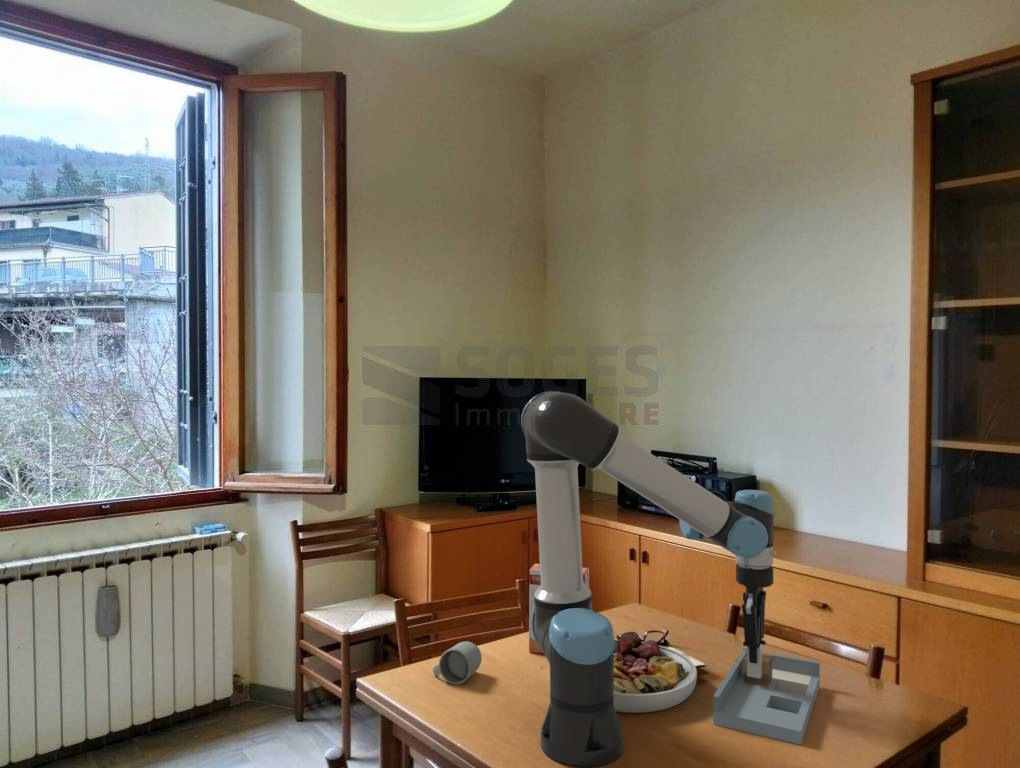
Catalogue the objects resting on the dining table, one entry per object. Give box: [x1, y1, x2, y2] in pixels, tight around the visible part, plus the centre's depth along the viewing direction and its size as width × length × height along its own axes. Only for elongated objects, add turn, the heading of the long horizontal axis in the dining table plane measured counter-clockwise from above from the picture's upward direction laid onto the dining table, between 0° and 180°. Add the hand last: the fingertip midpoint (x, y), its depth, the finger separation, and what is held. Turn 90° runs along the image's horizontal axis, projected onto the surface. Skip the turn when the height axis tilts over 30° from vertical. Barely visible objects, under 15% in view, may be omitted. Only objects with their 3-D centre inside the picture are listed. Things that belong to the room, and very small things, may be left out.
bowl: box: [614, 631, 698, 714], centre depth 157 cm, size 30×30×8 cm
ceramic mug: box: [432, 640, 482, 685], centre depth 163 cm, size 11×8×8 cm
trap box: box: [712, 648, 821, 746], centre depth 148 cm, size 28×16×6 cm, turn 150°
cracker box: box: [528, 563, 590, 655], centre depth 176 cm, size 14×6×21 cm, turn 73°
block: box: [743, 654, 772, 687], centre depth 154 cm, size 5×5×5 cm
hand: (754, 676), depth 151 cm, fingers closed
